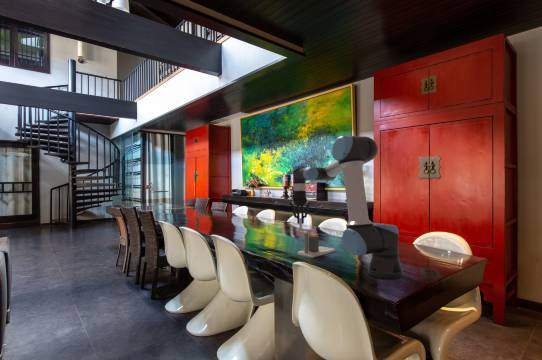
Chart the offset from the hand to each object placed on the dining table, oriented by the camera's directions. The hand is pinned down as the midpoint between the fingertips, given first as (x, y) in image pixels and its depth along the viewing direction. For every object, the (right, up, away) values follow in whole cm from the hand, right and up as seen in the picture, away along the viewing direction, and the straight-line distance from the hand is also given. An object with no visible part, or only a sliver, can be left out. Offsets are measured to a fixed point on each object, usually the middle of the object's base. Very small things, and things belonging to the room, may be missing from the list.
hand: (300, 229), depth 180 cm
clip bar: (0, -1, -5) cm, 5 cm away
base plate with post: (+9, -14, -5) cm, 17 cm away
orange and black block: (+7, -13, -7) cm, 16 cm away
